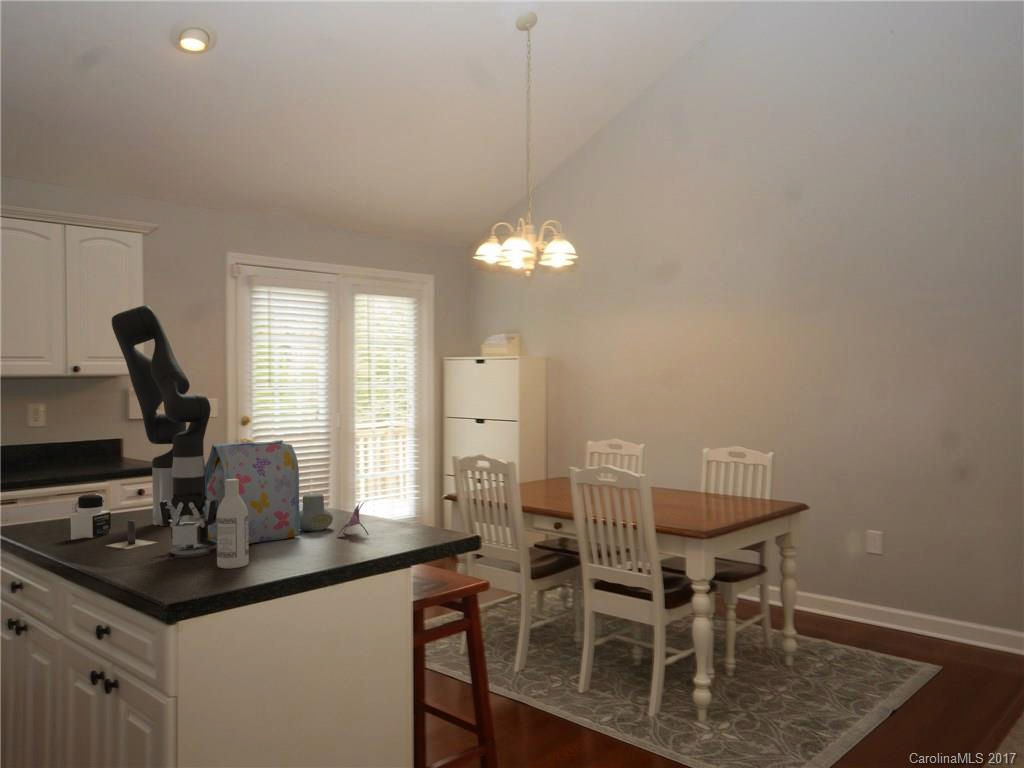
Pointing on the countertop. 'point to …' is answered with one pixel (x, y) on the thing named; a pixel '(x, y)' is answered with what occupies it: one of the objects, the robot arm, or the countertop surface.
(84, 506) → the medicine bottle
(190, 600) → the countertop surface
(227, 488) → the bath foam
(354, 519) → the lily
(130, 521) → the stand
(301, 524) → the air freshener
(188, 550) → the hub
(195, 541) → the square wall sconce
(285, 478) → the lunch bag
